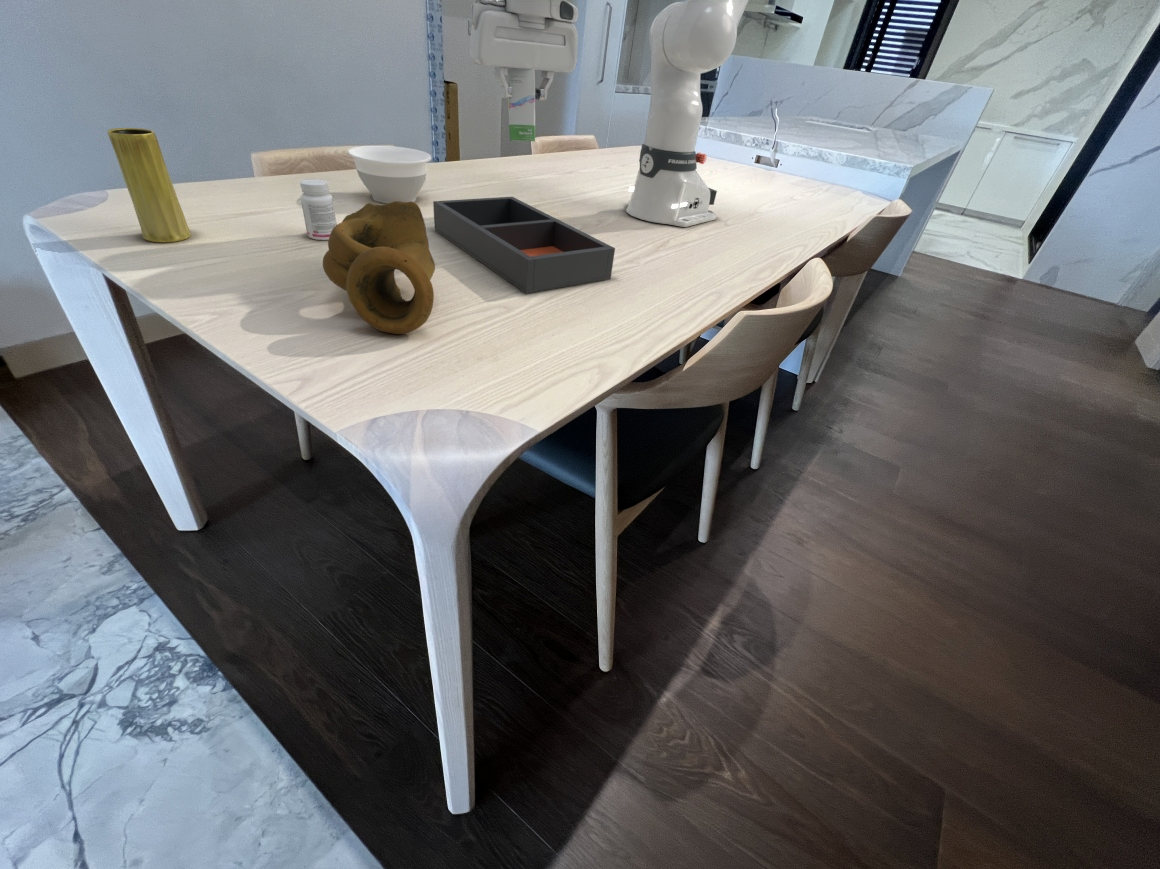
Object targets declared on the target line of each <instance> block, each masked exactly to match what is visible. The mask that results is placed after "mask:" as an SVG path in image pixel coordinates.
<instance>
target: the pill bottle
mask: <svg viewBox="0 0 1160 869" xmlns="http://www.w3.org/2000/svg"><path fill="white" fill-rule="evenodd" d="M299 184H300V190H301V195H300V203H301V209H302V213H303V219H304V224H305V230H306V234H307V236H308V238H310V239H313V240H317V241H329V237H330V234H331V231H332V230H333V228H334V227H335V226H336V225H338V223H337V218H336V211H335V205H334V198H333V196H332V195H331V194H330V188H329V184H328V181H327V180H325V179H324V180H323V179H317V178H310V179H309V178H308V179H303V180H300V182H299Z"/></svg>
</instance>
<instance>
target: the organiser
mask: <svg viewBox="0 0 1160 869" xmlns="http://www.w3.org/2000/svg"><path fill="white" fill-rule="evenodd" d="M432 205H433V207H432V208H433V222H434V231H435V232H436V233H438V234H439V235H441V236H442V237H444V238H445V239H446V240H448V241H449V242H451V243H453V244H454V245H455V246H456V247H458V248H459V249H461V250H462V251H464V252H465V253H467V254H468V255H469V256H471V257H472V258H474V259H475V260H476V261H478V262H479V263H481V264H482V265H484V266H485V267H487V268H488V269H490V271H493V272H494V273H495V274H497V275H498V276H500V278H502V279H504V280H505V281H507V282H508V283H510V285H513V287H515V288H517V289H519V290H520V291H521V292H523V293H524V294H526V295H528V294H534V293H539V292H544V291H545V292H546V291H550V290H551V291H552V290H557V289H562V288H567V287H574V286H579V285H585V284H591V283H597V282H603V281H607V280H611V279H612V274H613V273H612V272H613V266H614V259H615V251H616V248H615V247H614V246H611V245H610V244H608V243H606V242H604V241H601V240H600V239H598V238H596V237H594V236H592V235H590V234H587V233H586V232H584V231H583V230H580V229H579V228H576V227H574V226H572V225H570V224H568V223H566V222H564V221H562V220H560V219H558V218H556V217H554V216H553V215H552V216H551V215H550V214H548V213H546V212H544V211H542V210H540V209H538V208H536V207H534V206H533V205H530V204H528V203H527V202H525V201H522V200H519V199H518V198H516V197H514V196H500V197H499V196H498V197H497V196H496V197H482V198H466V199H465V198H464V199H449V200H433V201H432Z"/></svg>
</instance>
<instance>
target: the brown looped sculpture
mask: <svg viewBox="0 0 1160 869" xmlns="http://www.w3.org/2000/svg"><path fill="white" fill-rule="evenodd" d="M327 241H328V242H327V247H328V250H327V251H326V252H325V253H324V255H323V258H322V269H323V272H324V273H325V275H326V277H327V278H328V279H329V280H330V281H331V282H332V283H333V284H334V285H336V286H337V287H339V288H341V289H342V290H344V291H346V293H347V298H348V301H349V303H350V304H351V305H352V307H353V309H354V310H355V312H356V313H357V314H358V316H359V317H360V318H361V319H362V320H363V321H364V322H365V323H367V325H369V326H371V327H372V328H374V329H376V330H377V331H379V332H382V333H386V334H393V335H405V334H408V333H411V332H414V331H416V330H417V329H419V328H420V327H422V326H423V325H424V324H425V323H426V322H427V321H428V319H429V317H430V316H431V314H432V311H433V306H434V300H435V297H434V296H435V294H434V293H435V292H434V287H433V284H432V282H431V280H432V278H433V275H434V273H435V272H436V271H435V270H436V263H435V260H434V258H433V255H432V253H431V251H430V246H429V244H430V243H429V238H428V235H427V227H426V224H425V219H424V216H423V213H422V210H421V207H420V206H419V205H418V204H417V203H416V202H400V201H394V202H391V203H383V204H374V203H371V202H367V203H366V204H365V205H364V206H363V207H361V208H359V209H358V210H356V211H355V212H352V213H350V214H347V215H346V216H344V218H343V220H342V221H341V222H339V223H337V225H336V226H335V227H334V228H333V230H332V231H331V234H330V237H329V240H327ZM396 270H398V271H400V272H401V273H402V274H404V276H406V278H407V279H408V280H409V281H410V283H411V285H412V287H413V290H414V292H413V296H412V297H411V299H410V300H406V299H404V298H403V297H402V295H401V289H400V287H399V286H398V285H397V282H396V280H395V278H396V277H395V271H396Z"/></svg>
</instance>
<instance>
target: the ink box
mask: <svg viewBox="0 0 1160 869" xmlns="http://www.w3.org/2000/svg"><path fill="white" fill-rule="evenodd" d="M535 71H536V70H534V68H533V69H520V68H508V67H507V84H508V86H509V87H512V98H511V99H507V100H508V103H507V104H508V132H509V141H510V142H536V98H535V95H536V92H535V90H536V74H535Z"/></svg>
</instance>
